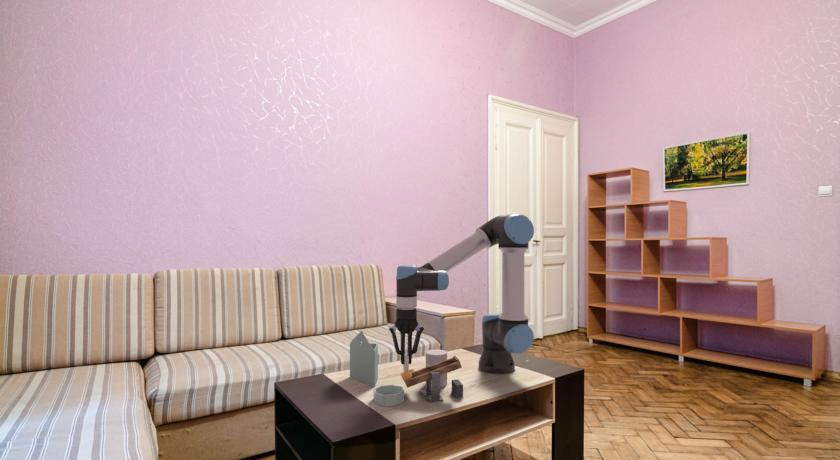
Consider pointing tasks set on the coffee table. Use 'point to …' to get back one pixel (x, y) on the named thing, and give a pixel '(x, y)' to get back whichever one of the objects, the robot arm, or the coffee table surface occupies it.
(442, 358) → the pale pink cylinder
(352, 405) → the coffee table surface
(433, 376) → the fulcrum
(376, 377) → the planter
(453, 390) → the block
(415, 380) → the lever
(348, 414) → the coffee table surface
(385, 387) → the bowl
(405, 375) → the ball
